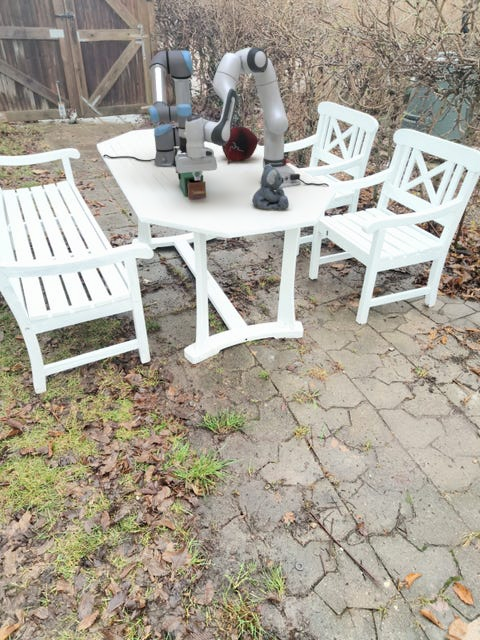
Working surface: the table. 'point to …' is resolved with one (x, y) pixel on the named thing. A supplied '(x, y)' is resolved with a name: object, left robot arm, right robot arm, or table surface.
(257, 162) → the table surface
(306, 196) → the table surface
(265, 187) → the koala plush
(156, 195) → the table surface
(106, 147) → the table surface
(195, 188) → the drawer
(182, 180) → the cabinet
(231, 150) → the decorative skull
